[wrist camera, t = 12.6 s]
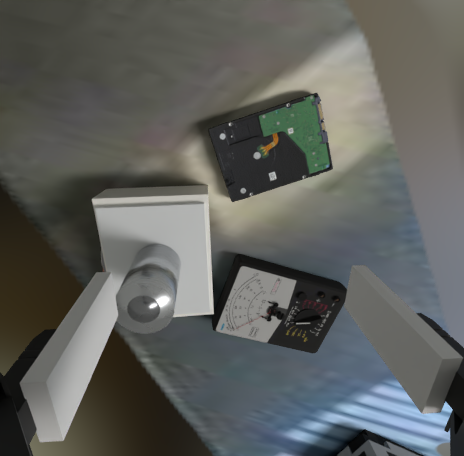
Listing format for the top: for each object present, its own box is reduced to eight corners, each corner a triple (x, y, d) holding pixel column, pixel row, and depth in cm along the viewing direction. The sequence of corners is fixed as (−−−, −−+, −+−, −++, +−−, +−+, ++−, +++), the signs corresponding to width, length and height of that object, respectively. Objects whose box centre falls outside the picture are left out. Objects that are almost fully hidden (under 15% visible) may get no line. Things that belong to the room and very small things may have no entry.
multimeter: (309, 340, 53) (319, 361, 48) (211, 317, 49) (211, 337, 45) (341, 281, 49) (355, 298, 44) (236, 251, 45) (239, 266, 41)
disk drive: (230, 198, 42) (327, 166, 42) (232, 204, 40) (335, 169, 39) (206, 128, 39) (312, 91, 38) (206, 129, 36) (319, 89, 35)
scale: (100, 188, 40) (82, 200, 34) (207, 185, 41) (207, 195, 35) (121, 298, 46) (108, 325, 40) (212, 293, 47) (213, 317, 41)
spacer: (130, 245, 36) (107, 286, 27) (178, 242, 37) (171, 281, 28) (137, 286, 38) (117, 336, 29) (182, 282, 39) (177, 331, 30)
